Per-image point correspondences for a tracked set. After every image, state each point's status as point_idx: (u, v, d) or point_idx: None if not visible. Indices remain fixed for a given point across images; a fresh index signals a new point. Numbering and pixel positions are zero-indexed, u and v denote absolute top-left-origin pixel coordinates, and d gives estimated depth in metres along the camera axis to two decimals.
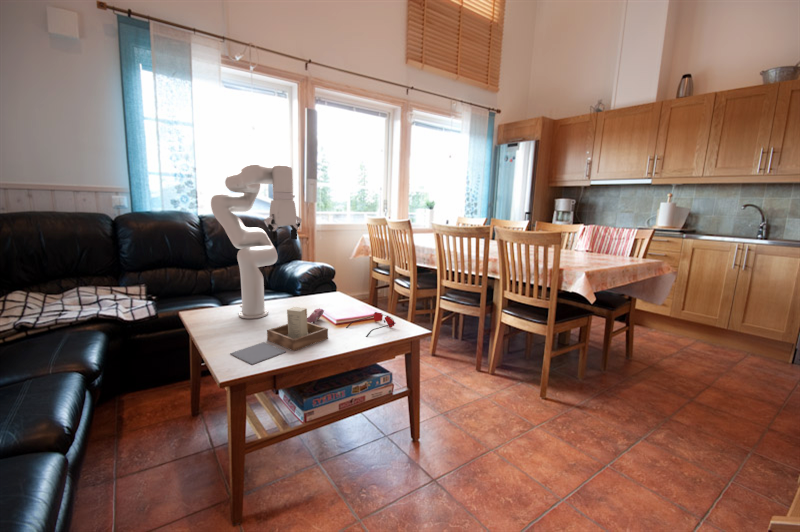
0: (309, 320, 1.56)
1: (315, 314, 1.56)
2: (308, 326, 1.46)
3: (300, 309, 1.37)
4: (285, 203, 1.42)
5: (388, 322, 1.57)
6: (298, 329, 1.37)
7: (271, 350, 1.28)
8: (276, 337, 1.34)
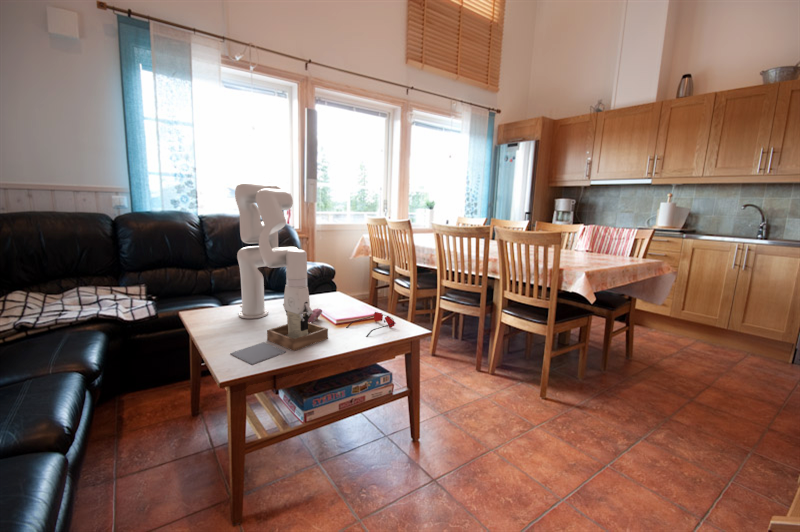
0: None
1: (313, 314, 1.56)
2: (308, 326, 1.46)
3: None
4: None
5: (388, 322, 1.57)
6: (298, 329, 1.37)
7: (271, 350, 1.28)
8: (276, 337, 1.34)
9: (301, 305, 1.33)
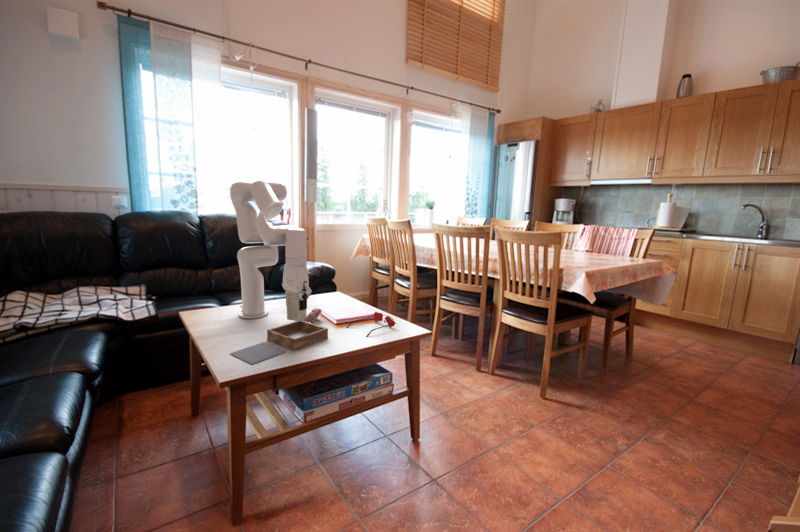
0: (307, 320, 1.56)
1: (313, 314, 1.56)
2: (308, 326, 1.46)
3: None
4: None
5: (388, 322, 1.57)
6: (296, 309, 1.36)
7: (271, 350, 1.28)
8: (276, 337, 1.34)
9: (300, 284, 1.32)
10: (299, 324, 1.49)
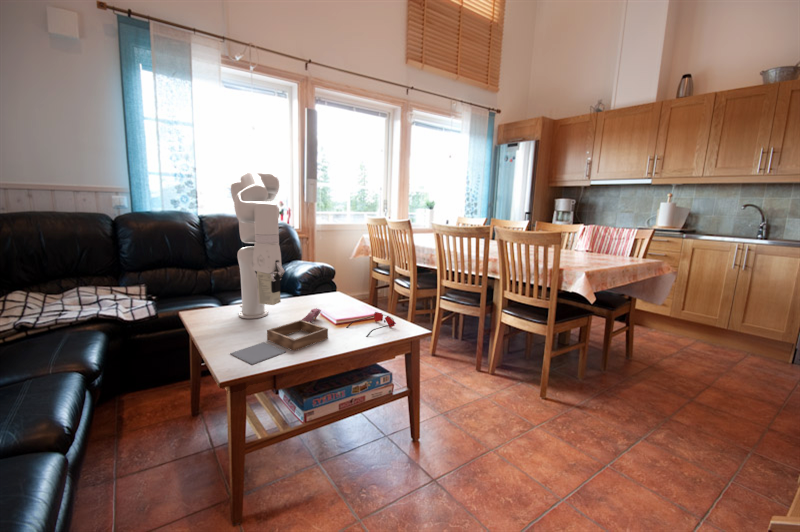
0: (306, 320, 1.56)
1: (312, 314, 1.56)
2: (308, 326, 1.46)
3: None
4: None
5: (388, 322, 1.57)
6: (269, 291, 1.24)
7: (271, 350, 1.28)
8: (276, 337, 1.34)
9: (271, 263, 1.20)
10: (299, 324, 1.49)
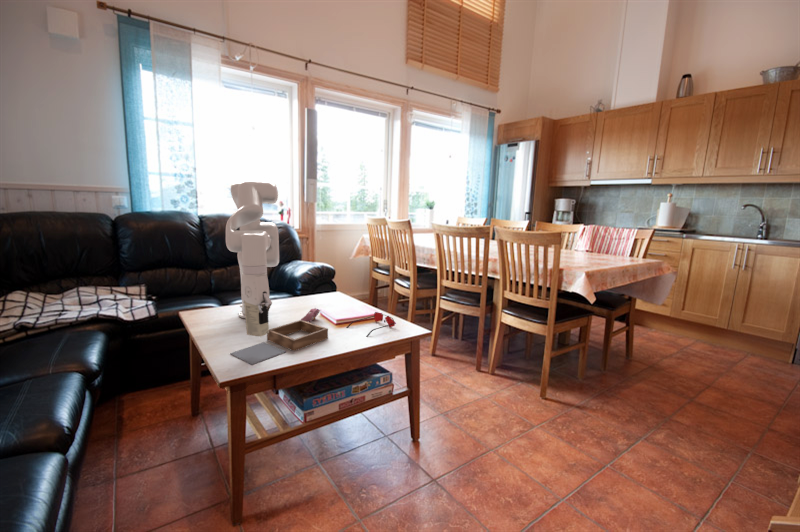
0: (305, 320, 1.56)
1: (311, 314, 1.56)
2: (308, 326, 1.46)
3: None
4: None
5: (388, 322, 1.57)
6: (256, 322, 1.22)
7: (271, 350, 1.28)
8: (276, 337, 1.34)
9: (259, 295, 1.18)
10: (299, 324, 1.49)
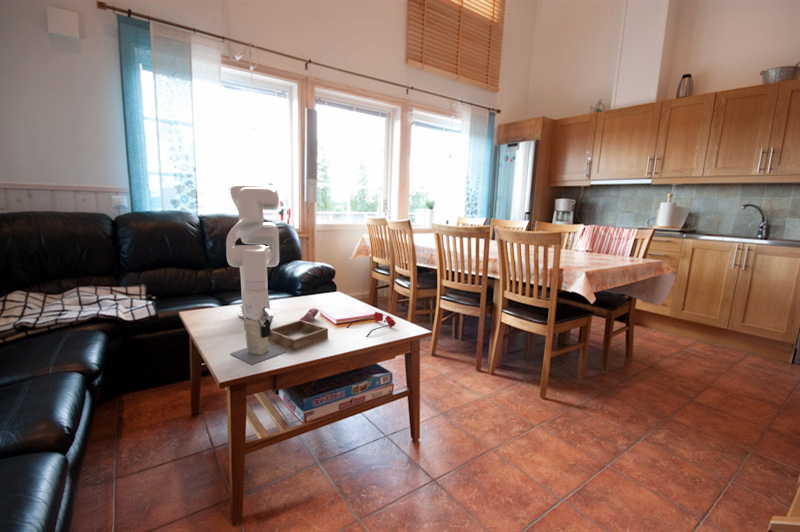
0: (304, 320, 1.56)
1: (310, 314, 1.56)
2: (308, 326, 1.46)
3: None
4: None
5: (389, 322, 1.57)
6: (256, 341, 1.23)
7: (271, 350, 1.28)
8: (276, 337, 1.34)
9: (259, 310, 1.19)
10: (299, 324, 1.49)
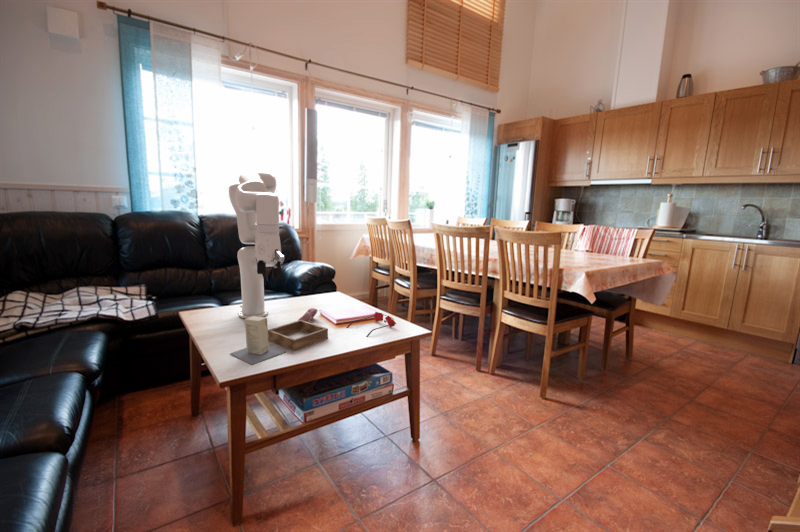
0: (303, 320, 1.56)
1: (309, 314, 1.56)
2: (308, 326, 1.46)
3: (259, 318, 1.24)
4: None
5: (389, 322, 1.57)
6: (256, 341, 1.23)
7: (271, 350, 1.28)
8: (276, 337, 1.34)
9: (271, 252, 1.26)
10: (299, 324, 1.49)
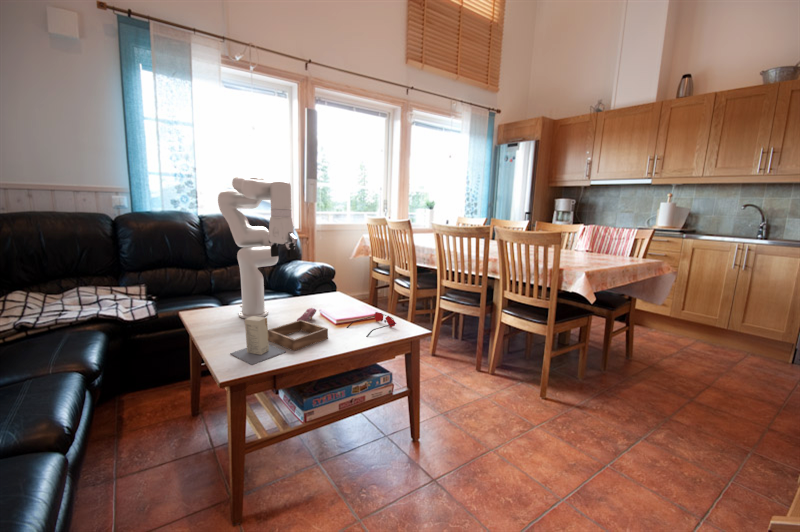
0: (301, 319, 1.56)
1: (307, 313, 1.56)
2: (308, 326, 1.46)
3: (259, 318, 1.24)
4: None
5: (389, 322, 1.57)
6: (256, 341, 1.23)
7: (271, 350, 1.28)
8: (276, 337, 1.34)
9: (285, 234, 1.36)
10: (299, 324, 1.49)
